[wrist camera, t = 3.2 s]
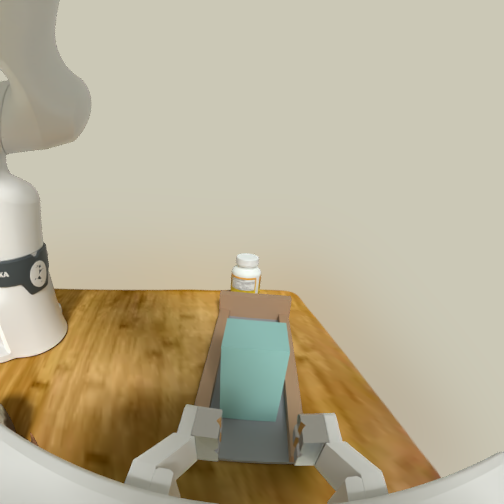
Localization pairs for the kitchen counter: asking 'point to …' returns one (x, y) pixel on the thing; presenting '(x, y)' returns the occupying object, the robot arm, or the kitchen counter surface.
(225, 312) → the chute
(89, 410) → the kitchen counter surface
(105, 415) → the kitchen counter surface
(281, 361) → the block
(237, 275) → the supplement bottle
